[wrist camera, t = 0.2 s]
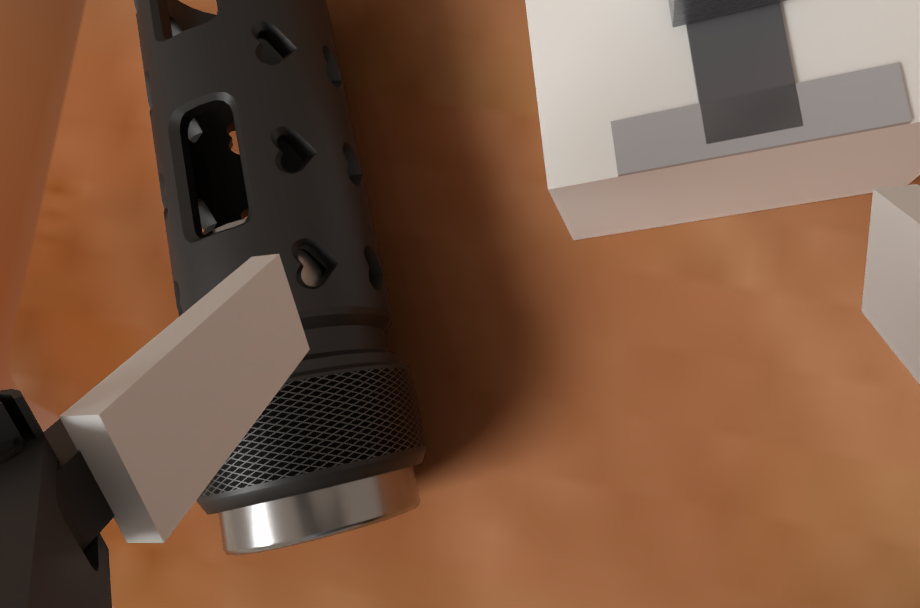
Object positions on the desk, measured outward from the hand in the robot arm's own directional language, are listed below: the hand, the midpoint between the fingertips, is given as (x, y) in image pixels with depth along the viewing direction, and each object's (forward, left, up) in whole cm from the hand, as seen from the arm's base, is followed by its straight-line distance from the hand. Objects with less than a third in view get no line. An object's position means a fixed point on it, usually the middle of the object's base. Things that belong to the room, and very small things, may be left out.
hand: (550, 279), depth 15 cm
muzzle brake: (+7, +14, -16) cm, 22 cm away
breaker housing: (+11, -6, -16) cm, 20 cm away
